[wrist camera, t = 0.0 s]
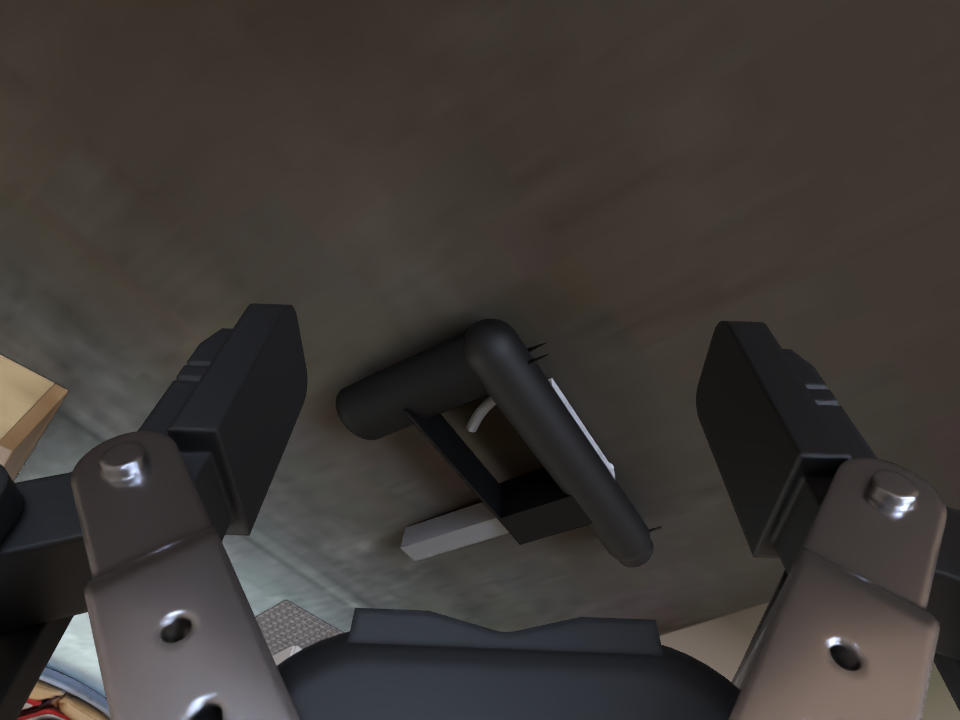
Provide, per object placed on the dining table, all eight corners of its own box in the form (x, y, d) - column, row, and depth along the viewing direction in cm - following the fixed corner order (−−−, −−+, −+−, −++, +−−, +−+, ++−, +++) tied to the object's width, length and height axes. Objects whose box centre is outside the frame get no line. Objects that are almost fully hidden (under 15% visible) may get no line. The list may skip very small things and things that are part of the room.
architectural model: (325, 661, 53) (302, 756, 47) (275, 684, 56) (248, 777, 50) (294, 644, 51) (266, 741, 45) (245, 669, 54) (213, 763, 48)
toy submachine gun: (459, 614, 43) (677, 560, 37) (267, 436, 34) (520, 323, 28) (464, 573, 46) (668, 516, 40) (286, 397, 36) (522, 285, 30)
